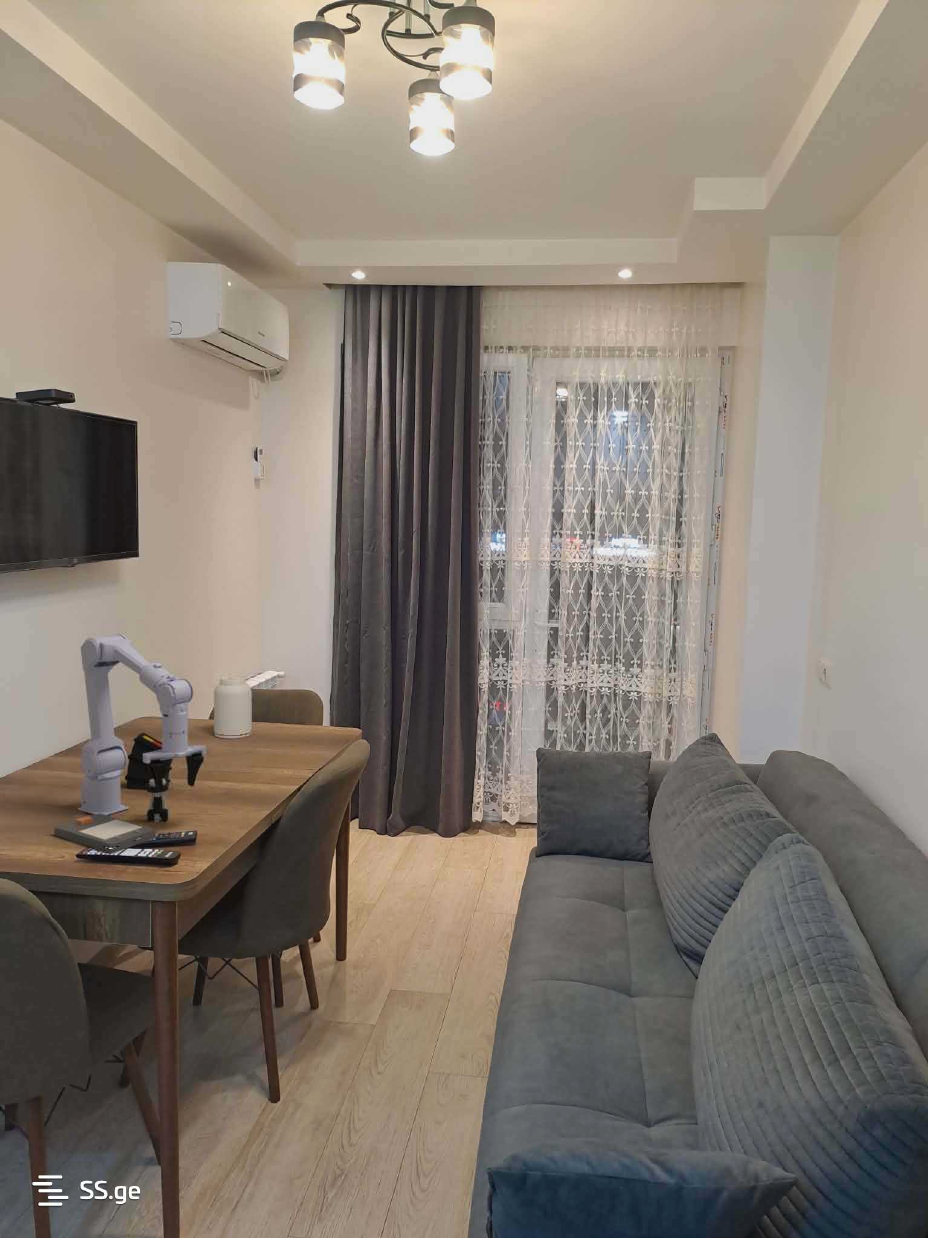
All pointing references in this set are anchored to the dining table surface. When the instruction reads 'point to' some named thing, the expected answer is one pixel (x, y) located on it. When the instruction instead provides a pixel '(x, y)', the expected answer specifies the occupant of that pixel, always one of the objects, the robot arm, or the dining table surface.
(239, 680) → the white jar
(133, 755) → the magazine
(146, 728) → the dining table surface
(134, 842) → the control panel
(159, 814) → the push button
